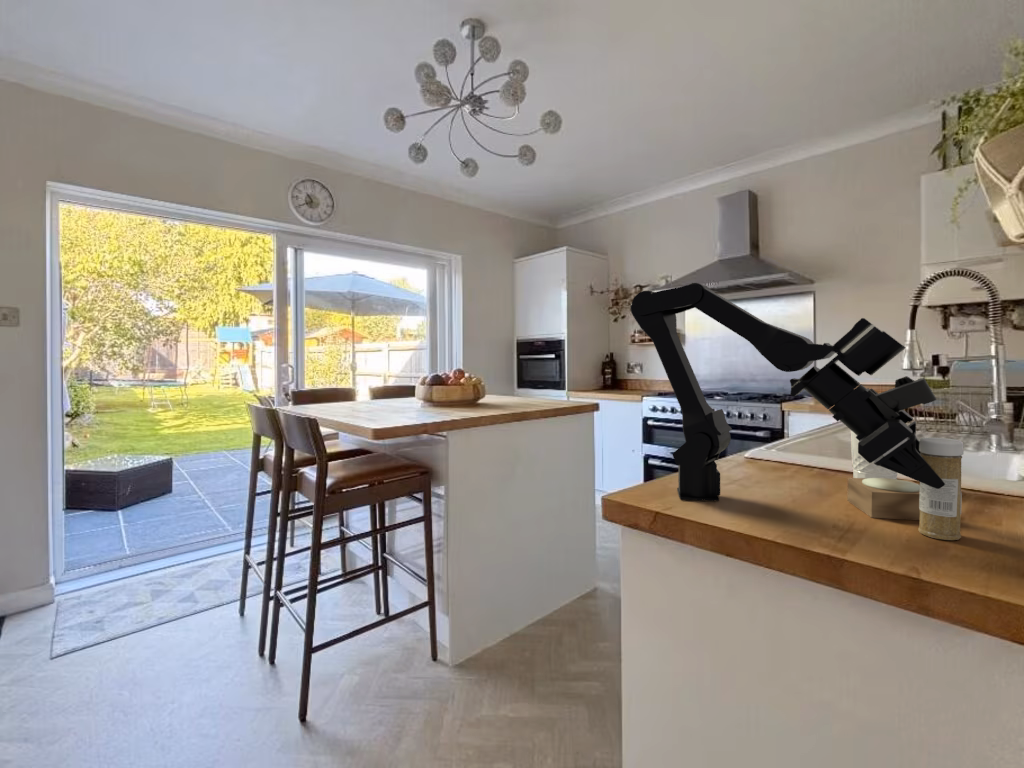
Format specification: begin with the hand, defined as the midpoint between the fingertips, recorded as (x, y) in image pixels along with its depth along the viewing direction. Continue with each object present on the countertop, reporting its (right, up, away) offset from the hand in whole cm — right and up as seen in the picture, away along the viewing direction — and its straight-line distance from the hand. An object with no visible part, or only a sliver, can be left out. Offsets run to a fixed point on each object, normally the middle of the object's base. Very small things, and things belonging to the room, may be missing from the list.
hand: (940, 479), depth 67 cm
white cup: (+11, -6, +28) cm, 30 cm away
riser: (+2, -7, +11) cm, 14 cm away
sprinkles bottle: (0, -8, +1) cm, 8 cm away
